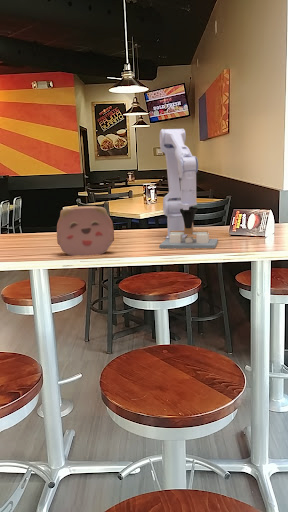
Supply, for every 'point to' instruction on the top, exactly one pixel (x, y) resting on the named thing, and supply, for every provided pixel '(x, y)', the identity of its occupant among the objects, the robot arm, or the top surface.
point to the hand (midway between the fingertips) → (189, 227)
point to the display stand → (189, 242)
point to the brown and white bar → (188, 231)
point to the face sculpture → (84, 230)
